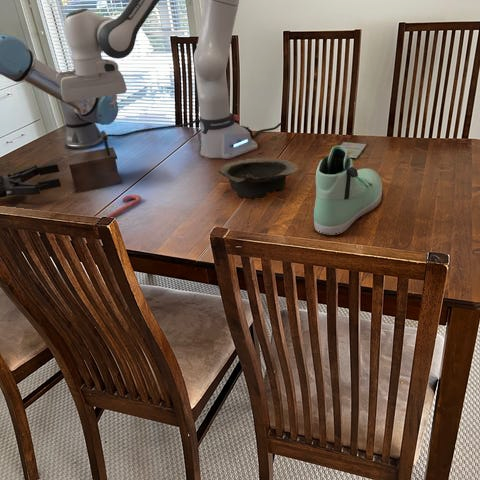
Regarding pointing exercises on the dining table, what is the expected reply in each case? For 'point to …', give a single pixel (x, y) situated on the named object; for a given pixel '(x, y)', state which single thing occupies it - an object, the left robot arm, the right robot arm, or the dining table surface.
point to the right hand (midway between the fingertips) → (98, 111)
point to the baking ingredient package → (353, 148)
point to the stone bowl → (257, 176)
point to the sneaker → (343, 192)
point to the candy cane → (126, 205)
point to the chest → (95, 175)
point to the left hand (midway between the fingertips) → (59, 174)
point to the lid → (93, 155)
